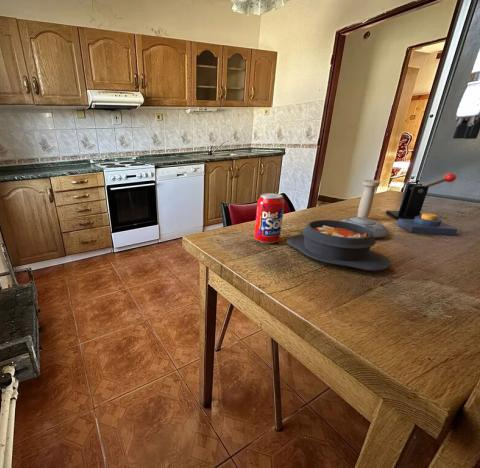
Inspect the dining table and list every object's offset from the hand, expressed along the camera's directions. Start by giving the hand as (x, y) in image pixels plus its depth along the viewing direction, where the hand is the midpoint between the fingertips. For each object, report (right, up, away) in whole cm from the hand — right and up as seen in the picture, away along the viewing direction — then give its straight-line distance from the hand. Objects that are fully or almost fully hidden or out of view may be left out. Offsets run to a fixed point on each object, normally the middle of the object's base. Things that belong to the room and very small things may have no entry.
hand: (464, 138), depth 89 cm
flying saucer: (-37, -33, -1) cm, 50 cm away
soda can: (-71, -36, -5) cm, 79 cm away
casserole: (-57, -40, -17) cm, 71 cm away
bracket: (-8, -27, +13) cm, 31 cm away
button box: (-14, -32, 0) cm, 35 cm away
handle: (-27, -28, +12) cm, 40 cm away
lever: (-3, -16, +7) cm, 18 cm away
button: (-14, -28, -1) cm, 32 cm away
